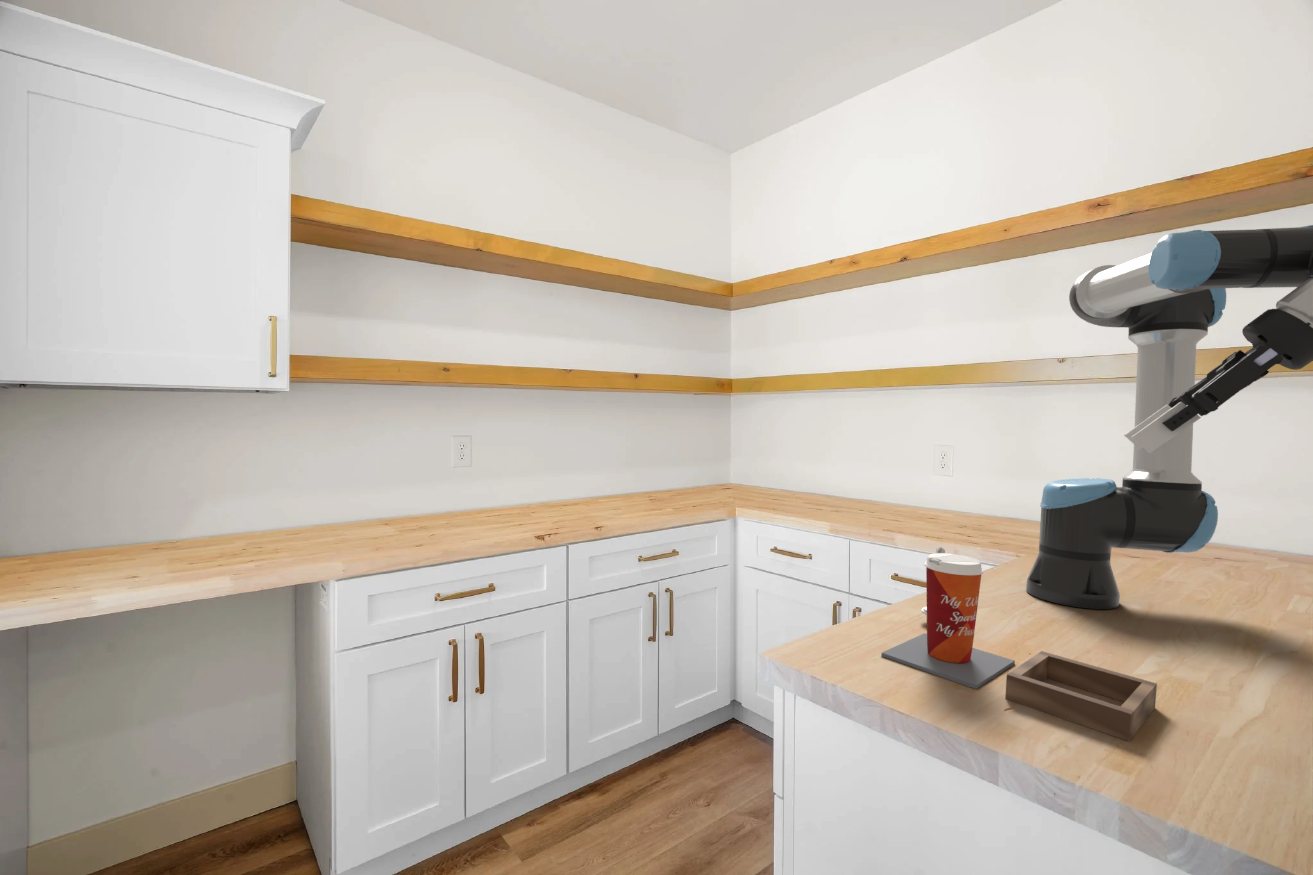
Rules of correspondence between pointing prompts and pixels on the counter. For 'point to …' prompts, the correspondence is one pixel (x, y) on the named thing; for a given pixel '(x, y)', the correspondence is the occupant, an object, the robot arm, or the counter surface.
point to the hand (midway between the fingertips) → (1135, 443)
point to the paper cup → (952, 605)
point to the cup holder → (1080, 708)
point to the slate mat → (967, 674)
